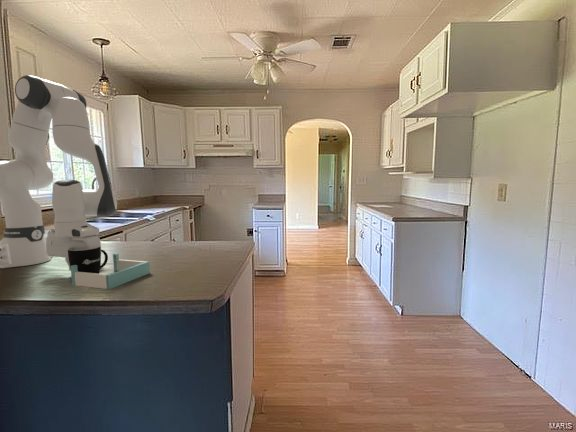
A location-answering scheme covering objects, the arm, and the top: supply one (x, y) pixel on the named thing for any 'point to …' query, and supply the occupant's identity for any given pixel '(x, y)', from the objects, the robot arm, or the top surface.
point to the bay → (125, 273)
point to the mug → (87, 259)
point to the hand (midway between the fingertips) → (74, 270)
